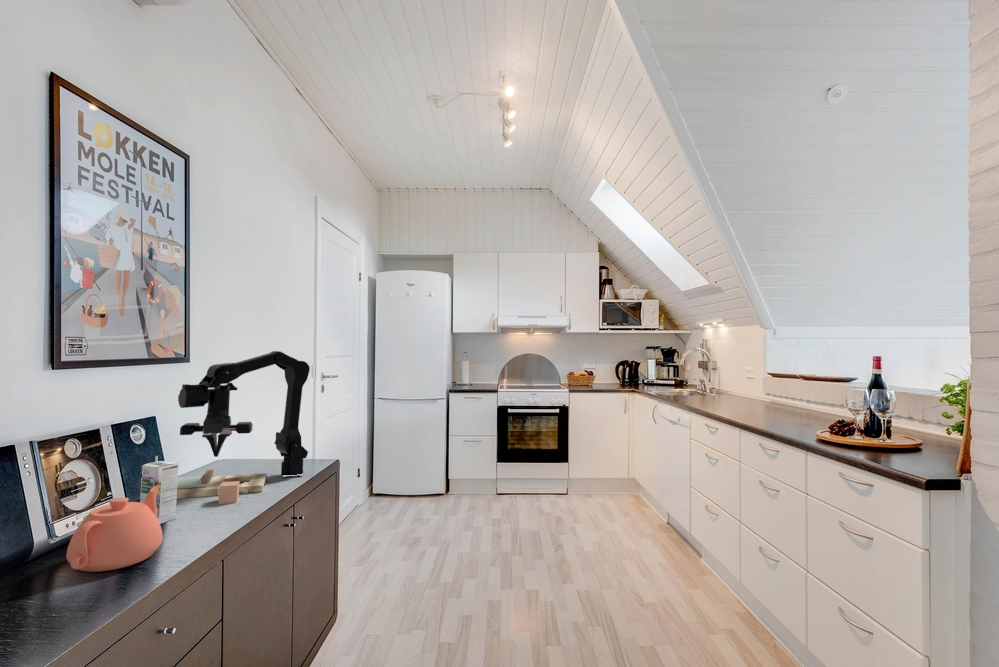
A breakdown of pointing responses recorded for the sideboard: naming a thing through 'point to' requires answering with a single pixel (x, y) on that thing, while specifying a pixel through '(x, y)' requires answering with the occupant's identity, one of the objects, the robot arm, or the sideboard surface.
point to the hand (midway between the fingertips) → (216, 456)
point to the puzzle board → (213, 486)
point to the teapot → (116, 535)
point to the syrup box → (161, 487)
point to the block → (228, 492)
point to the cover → (195, 480)
